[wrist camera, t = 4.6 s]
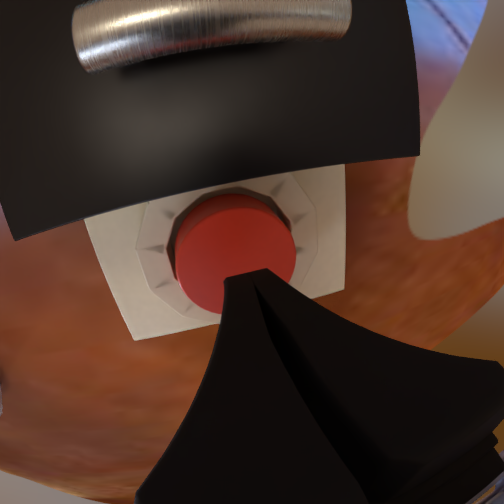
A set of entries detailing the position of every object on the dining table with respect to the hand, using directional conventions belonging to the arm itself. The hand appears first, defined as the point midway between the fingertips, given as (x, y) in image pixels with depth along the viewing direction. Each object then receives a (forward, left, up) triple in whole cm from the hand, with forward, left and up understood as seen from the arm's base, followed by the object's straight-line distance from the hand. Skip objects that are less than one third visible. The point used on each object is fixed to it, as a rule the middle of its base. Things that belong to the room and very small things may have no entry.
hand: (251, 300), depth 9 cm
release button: (0, 0, -4) cm, 4 cm away
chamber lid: (+4, -9, -2) cm, 10 cm away
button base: (0, +1, -6) cm, 6 cm away
